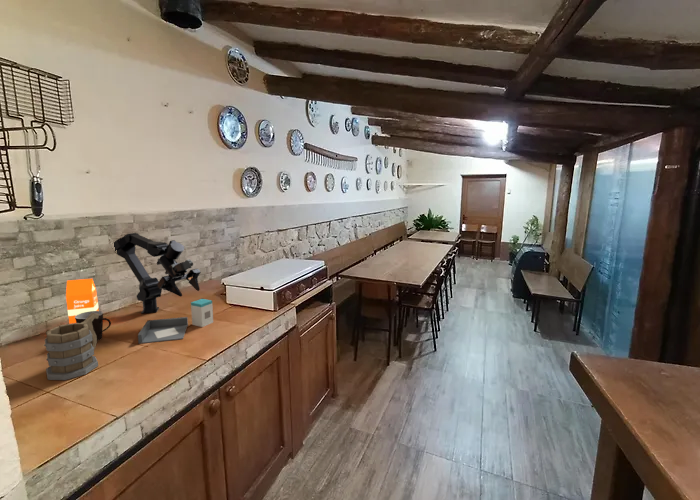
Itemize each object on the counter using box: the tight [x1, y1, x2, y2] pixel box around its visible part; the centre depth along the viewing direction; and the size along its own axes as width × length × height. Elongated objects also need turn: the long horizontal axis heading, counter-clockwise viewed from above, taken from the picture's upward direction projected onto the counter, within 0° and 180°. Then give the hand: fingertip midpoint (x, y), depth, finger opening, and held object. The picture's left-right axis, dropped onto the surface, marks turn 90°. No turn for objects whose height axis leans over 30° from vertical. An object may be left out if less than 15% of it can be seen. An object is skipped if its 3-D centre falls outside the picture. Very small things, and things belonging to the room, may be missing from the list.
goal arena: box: [137, 316, 189, 345], centre depth 140 cm, size 15×15×4 cm
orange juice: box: [65, 278, 100, 324], centre depth 146 cm, size 8×9×20 cm
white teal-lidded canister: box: [190, 298, 214, 328], centre depth 150 cm, size 6×6×10 cm
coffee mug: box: [75, 310, 112, 342], centre depth 132 cm, size 12×9×10 cm
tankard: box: [43, 313, 99, 381], centre depth 114 cm, size 20×13×15 cm, turn 179°
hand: (190, 293), depth 152 cm, fingers open, 9 cm apart
